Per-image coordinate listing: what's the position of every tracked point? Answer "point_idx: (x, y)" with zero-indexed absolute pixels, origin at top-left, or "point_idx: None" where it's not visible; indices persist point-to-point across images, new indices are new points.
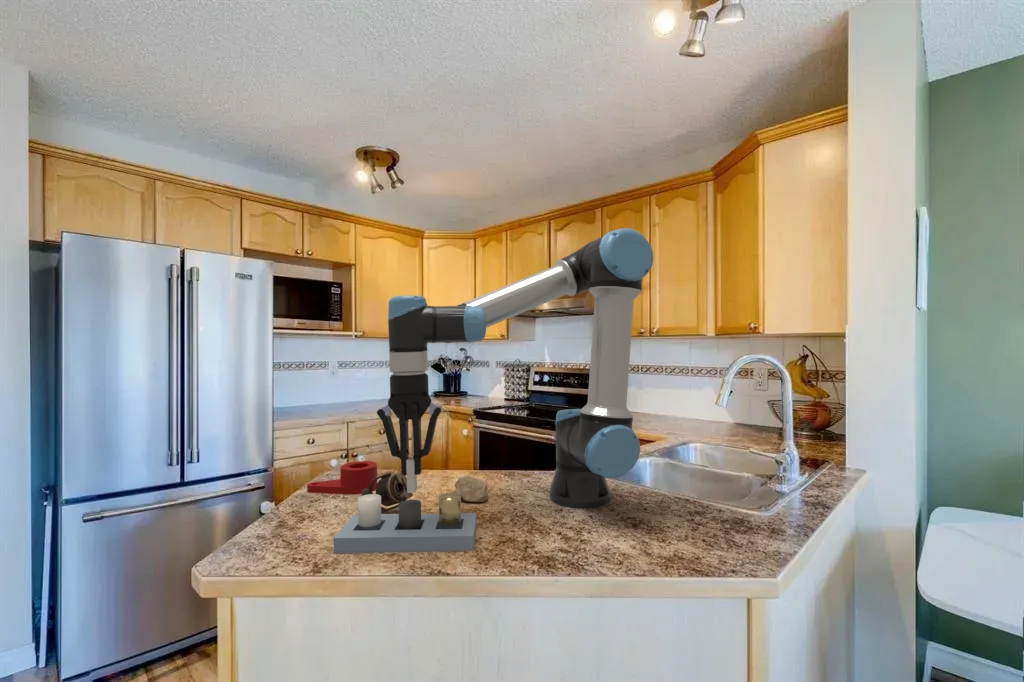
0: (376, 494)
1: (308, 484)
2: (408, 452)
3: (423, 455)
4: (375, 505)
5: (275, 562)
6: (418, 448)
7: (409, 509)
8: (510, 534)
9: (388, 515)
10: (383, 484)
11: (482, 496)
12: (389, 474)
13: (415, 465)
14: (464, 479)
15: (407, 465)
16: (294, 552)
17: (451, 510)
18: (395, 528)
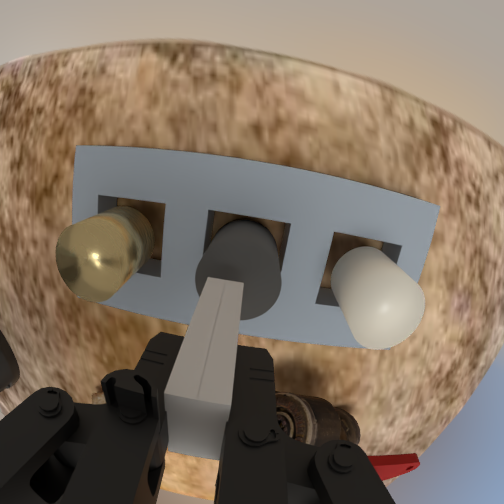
0: (363, 344)
1: (418, 465)
2: (216, 481)
3: (85, 407)
4: (366, 277)
5: (497, 196)
6: (89, 460)
7: (237, 239)
8: (37, 226)
9: (307, 333)
10: (323, 434)
11: (98, 396)
12: None
13: (169, 374)
14: None
15: (225, 373)
16: (477, 232)
17: (96, 215)
18: (286, 242)
